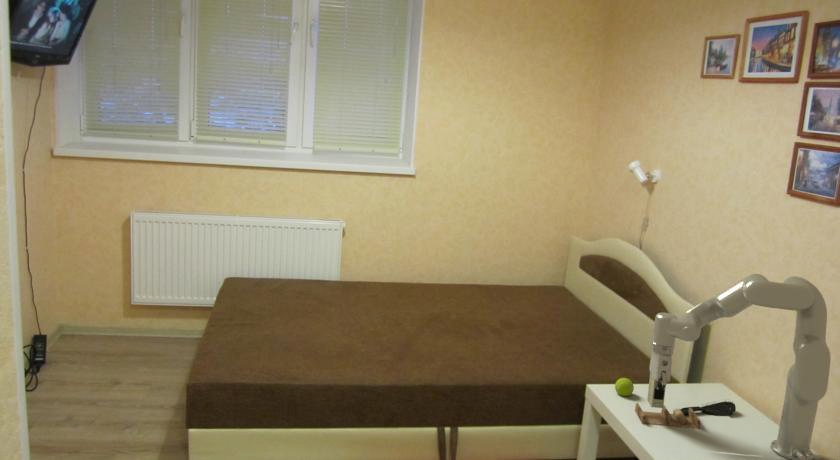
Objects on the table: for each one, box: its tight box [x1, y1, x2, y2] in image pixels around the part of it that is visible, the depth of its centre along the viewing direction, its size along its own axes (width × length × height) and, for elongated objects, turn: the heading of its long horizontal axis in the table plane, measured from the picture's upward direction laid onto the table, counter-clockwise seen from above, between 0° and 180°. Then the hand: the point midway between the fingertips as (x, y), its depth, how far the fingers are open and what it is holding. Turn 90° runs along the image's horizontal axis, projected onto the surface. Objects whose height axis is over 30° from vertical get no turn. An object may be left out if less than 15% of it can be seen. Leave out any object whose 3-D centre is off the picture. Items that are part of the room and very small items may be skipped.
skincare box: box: [646, 370, 667, 409], centre depth 235 cm, size 6×4×12 cm
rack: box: [634, 402, 701, 430], centre depth 236 cm, size 10×20×4 cm, turn 86°
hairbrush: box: [679, 399, 737, 417], centre depth 245 cm, size 8×4×25 cm
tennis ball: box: [614, 377, 635, 397], centre depth 255 cm, size 7×7×7 cm
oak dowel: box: [672, 408, 688, 425], centre depth 236 cm, size 7×3×3 cm, turn 176°
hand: (655, 394), depth 235 cm, fingers closed on skincare box, 6 cm apart
